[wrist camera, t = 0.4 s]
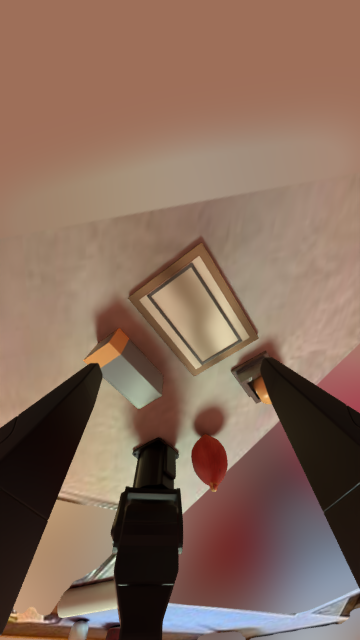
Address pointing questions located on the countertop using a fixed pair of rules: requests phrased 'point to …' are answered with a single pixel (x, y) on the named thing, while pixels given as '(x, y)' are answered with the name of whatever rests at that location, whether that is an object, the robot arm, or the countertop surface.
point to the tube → (88, 599)
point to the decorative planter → (113, 633)
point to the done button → (261, 390)
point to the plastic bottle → (79, 631)
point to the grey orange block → (127, 369)
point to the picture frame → (195, 311)
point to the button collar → (249, 375)
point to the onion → (209, 461)
